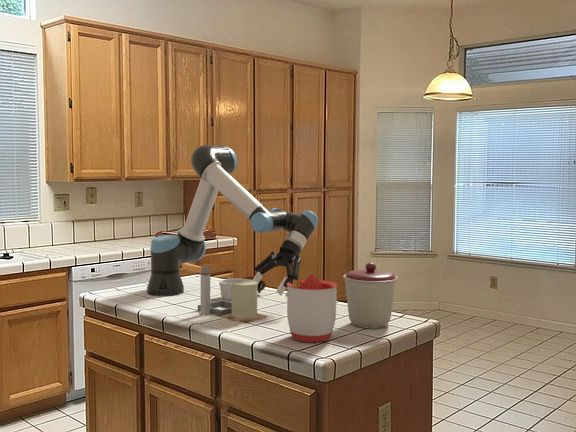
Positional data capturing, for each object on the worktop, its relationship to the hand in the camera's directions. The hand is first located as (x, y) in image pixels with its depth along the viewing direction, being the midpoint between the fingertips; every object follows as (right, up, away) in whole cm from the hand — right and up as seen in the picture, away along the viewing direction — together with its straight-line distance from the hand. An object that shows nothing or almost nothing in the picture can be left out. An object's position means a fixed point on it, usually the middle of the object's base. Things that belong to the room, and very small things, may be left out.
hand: (264, 290), depth 222 cm
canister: (+36, -10, -16) cm, 40 cm away
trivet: (-7, -9, -8) cm, 13 cm away
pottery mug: (-6, -6, +33) cm, 35 cm away
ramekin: (-13, -6, +24) cm, 28 cm away
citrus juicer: (+15, -11, -32) cm, 37 cm away
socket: (-17, -8, +2) cm, 19 cm away
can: (-7, -8, -8) cm, 13 cm away
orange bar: (-25, +7, +1) cm, 26 cm away
